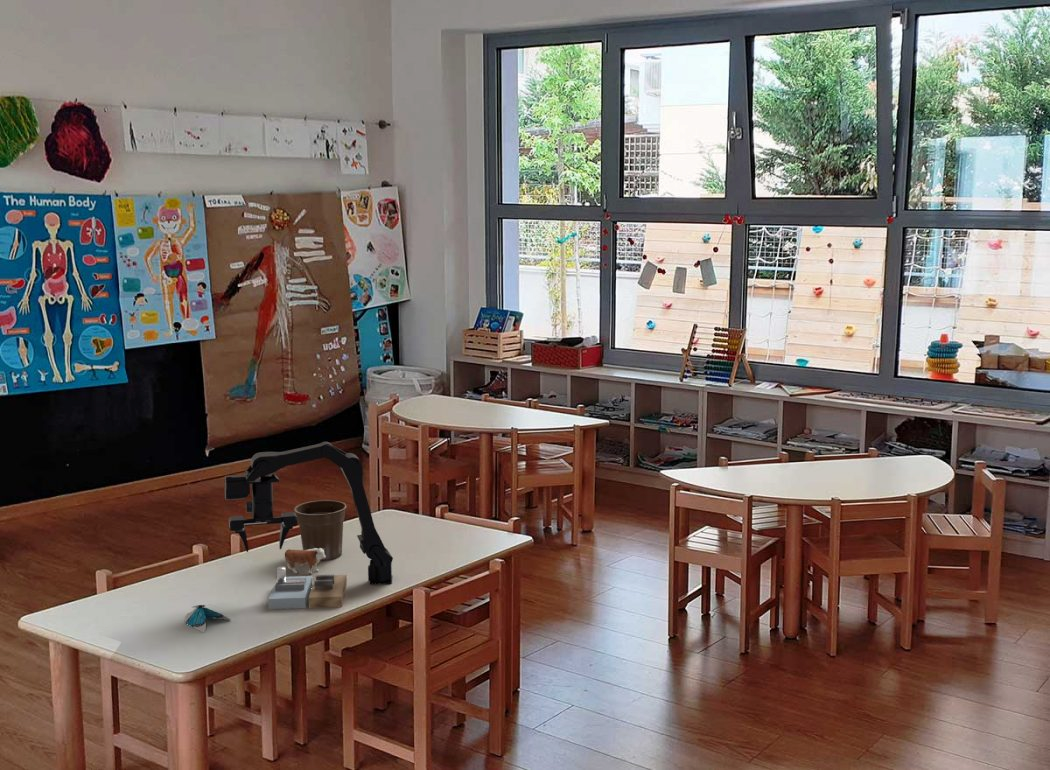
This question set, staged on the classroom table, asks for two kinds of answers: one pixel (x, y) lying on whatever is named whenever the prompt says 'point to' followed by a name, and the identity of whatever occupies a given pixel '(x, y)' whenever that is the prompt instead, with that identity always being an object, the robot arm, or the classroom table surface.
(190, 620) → the decorative butterfly
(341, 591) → the jamb
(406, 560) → the classroom table surface
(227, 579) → the classroom table surface
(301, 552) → the bull figurine
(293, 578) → the door panel
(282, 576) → the bolt
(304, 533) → the plant pot
